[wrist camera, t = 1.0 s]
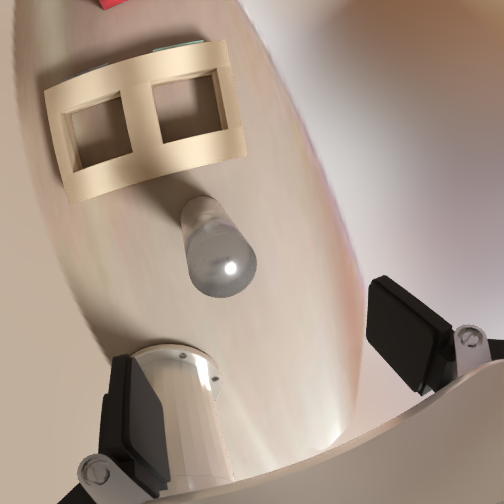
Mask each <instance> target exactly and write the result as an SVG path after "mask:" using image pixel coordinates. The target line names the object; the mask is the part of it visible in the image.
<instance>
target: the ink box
mask: <svg viewBox="0 0 504 504" xmlns="http://www.w3.org/2000/svg"><path fill="white" fill-rule="evenodd" d="M125 1H127V0H99V2H100V4H101V6H102V9H103V10H106V9H109V8H111V7H113V6H115V5H118V4H120V3H122V2H125Z"/></svg>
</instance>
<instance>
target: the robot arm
mask: <svg viewBox="0 0 504 504" xmlns="http://www.w3.org/2000/svg"><path fill="white" fill-rule="evenodd" d="M368 291H369V292H368V311H367V327H366V338H367V340H368V342H369V343H370V344H371V345H372V346H373V347H374V348H375V350H376V351H377V352H378V353H379V354H380V355H381V356H382V357H383V358H384V359H385V361H386V362H387V363H388V364H389V365H390V366H391V367H392V368H393V369H394V371H395V372H396V373H397V374H398V375H399V376H400V377H401V378H402V379H403V381H404V382H405V383H406V384H407V385H408V386H409V387H410V388H411V390H412V391H414V392H418V393H419V394H420V395H421V396H423V395H424V394H426V393H428V392H429V391H431V390H433V391H434V392H435V393H434V394H433V395H431V396H430V397H428V398H427V399H425V400H423V401H422V402H420V403H419V404H417V405H416V406H414V407H412V408H411V409H409V410H407V411H406V412H404V413H402V414H401V415H399V416H397V417H396V418H394V419H392V420H390V421H388V422H386V423H384V424H383V425H381V426H379V427H377V428H375V429H373V430H371V431H369V432H367V433H365V434H363V435H361V436H359V437H357V438H355V439H353V440H351V441H349V442H347V443H344V444H342V445H340V446H338V447H335V448H333V449H331V450H329V451H326V452H324V453H321V454H319V455H316V456H314V457H311V458H309V459H306V460H304V461H301V462H298V463H295V464H293V465H290V466H287V467H284V468H281V469H278V470H275V471H272V472H269V473H266V474H262V475H259V476H256V477H252V478H248V479H245V480H241V481H237V482H236V480H235V477H234V473H233V470H232V467H231V463H230V460H229V456H228V453H227V449H226V446H225V442H224V438H223V434H222V431H221V427H220V423H219V419H218V415H217V411H216V407H215V403H214V401H215V400H216V399H217V397H218V396H219V394H220V391H221V389H222V378H221V374H220V371H219V368H218V366H217V365H216V363H215V362H214V361H213V360H212V359H211V358H210V357H209V356H208V355H206V354H204V353H203V352H201V351H199V350H197V349H194V348H192V347H188V346H184V345H177V344H159V345H154V346H149V347H147V348H144V349H141V350H139V351H137V352H136V353H134V354H132V355H131V356H129V355H128V354H125V355H120V356H116V357H113V361H112V368H111V375H110V384H109V392H108V394H105V395H104V397H103V403H102V412H101V423H100V435H99V449H98V454H93V455H89V456H87V457H86V458H84V459H83V461H82V462H81V463H80V465H79V467H78V472H77V475H78V480H79V481H80V483H79V484H78V485H76V486H75V487H74V488H73V489H72V490H71V491H70V492H69V493H68V494H67V495H66V496H65V497H64V498H63V499H62V500H61V501H60V502H59V503H57V504H504V340H496V339H487V337H486V335H485V333H484V331H483V330H482V329H480V328H479V327H477V326H474V325H462V326H460V327H458V328H457V329H456V331H453V330H452V325H450V324H449V323H448V322H447V321H445V320H444V319H443V318H442V317H440V316H439V315H438V314H436V313H435V312H434V311H433V310H431V309H430V308H429V307H428V306H426V305H425V304H424V303H422V302H421V301H420V300H418V299H417V298H416V297H414V296H413V295H412V294H411V293H409V292H408V291H407V290H405V289H404V288H403V287H401V286H400V285H398V284H397V283H395V282H394V281H393V280H392V279H390V278H389V277H388V276H386V275H383V276H381V277H378V278H376V279H373V280H372V282H371V284H370V285H369V290H368Z"/></svg>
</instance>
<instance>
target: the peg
mask: <svg viewBox="0 0 504 504" xmlns="http://www.w3.org/2000/svg"><path fill="white" fill-rule="evenodd" d="M180 219H181V227H182V233H183V240H184V246H185V252H186V258H187V264H188V270H189V275H190V279H191V281H192V283H193V284H194V286H195V287H196V288H197V289H198V290H199V291H200V292H202V293H203V294H205V295H208V296H211V297H215V298H225V297H230V296H233V295H235V294H237V293H239V292H241V291H242V290H244V289H245V288H246V287H247V286H248V285H249V284H250V282H251V281H252V279H253V277H254V275H255V272H256V267H257V260H256V256H255V253H254V251H253V249H252V248H251V246H250V245H249V243H248V242H247V241H246V239H245V238H244V237H243V235H242V234H241V233H240V231H239V230H238V228H237V227H236V226H235V224H234V223H233V222H232V220H231V219H230V218H229V216H228V215H227V214H226V212H225V211H224V209H223V208H222V207H221V205H220V204H219V203H218V202H217V201H216V200H215V199H213V198H211V197H207V196H199V197H195V198H193V199H191V200H190V201H188V202H187V203H186V204H185V206H184V207H183V209H182V212H181V217H180Z"/></svg>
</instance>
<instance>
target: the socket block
mask: <svg viewBox="0 0 504 504" xmlns="http://www.w3.org/2000/svg"><path fill="white" fill-rule="evenodd" d="M208 75H212V80H213V86H214V91H215V96H216V101H217V106H218V111H219V116H220V122H221V127H222V130H219V131H215V132H210V133H205V134H201V135H196V136H192V137H188V138H184V139H180V140H176V141H172V142H168V143H163V138H162V134H161V129H160V124H159V119H158V114H157V110H156V105H155V99H154V94H153V89H152V88H153V87H157V86H161V85H165V84H169V83H174V82H178V81H183V80H187V79H192V78H198V77H203V76H208ZM44 96H45V103H46V109H47V115H48V120H49V126H50V131H51V136H52V140H53V145H54V149H55V154H56V158H57V162H58V166H59V170H60V174H61V178H62V181H63V185H64V188H65V192H66V195H67V199H68V202H69V205H73V204H75V203H78V202H81V201H84V200H87V199H89V198H92V197H95V196H98V195H101V194H104V193H107V192H110V191H113V190H117V189H120V188H123V187H126V186H129V185H133V184H136V183H139V182H143V181H146V180H150V179H153V178H157V177H160V176H164V175H168V174H171V173H175V172H179V171H183V170H187V169H190V168H194V167H199V166H203V165H207V164H211V163H215V162H220V161H224V160H229V159H233V158H238V157H243V156H247V150H246V145H245V139H244V134H243V128H242V123H241V118H240V112H239V107H238V102H237V97H236V92H235V86H234V81H233V76H232V71H231V66H230V61H229V56H228V50H227V45H226V40H217V41H210V42H203V40H200V41H194V42H188V43H183V44H178V45H173V46H168V47H164V48H159V49H155V50H153V53H149V54H146V55H142V56H138V57H134V58H131V59H127V60H124V61H121V62H117V63H114V64H111V65H110V64H109V63H106V64H103V65H100V66H97V67H94V68H91V69H88V70H86V71H83V72H80V73H78V74H75V75H73V76H70V77H68V78H65V79H63V80H62V83H60V84H58V85H55V86H53V87H51V88H49V89H47V90H44ZM118 97H121V99H122V104H123V109H124V114H125V119H126V124H127V129H128V133H129V138H130V142H131V147H132V151H133V152H132V153H129V154H126V155H123V156H119V157H116V158H113V159H110V160H107V161H104V162H101V163H98V164H95V165H93V166H90V167H87V168H84V169H83V167H82V163H81V159H80V155H79V151H78V146H77V142H76V137H75V133H74V128H73V123H72V118H71V114H73V113H76V112H78V111H81V110H83V109H86V108H89V107H92V106H94V105H97V104H100V103H103V102H106V101H109V100H112V99H115V98H118Z"/></svg>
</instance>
